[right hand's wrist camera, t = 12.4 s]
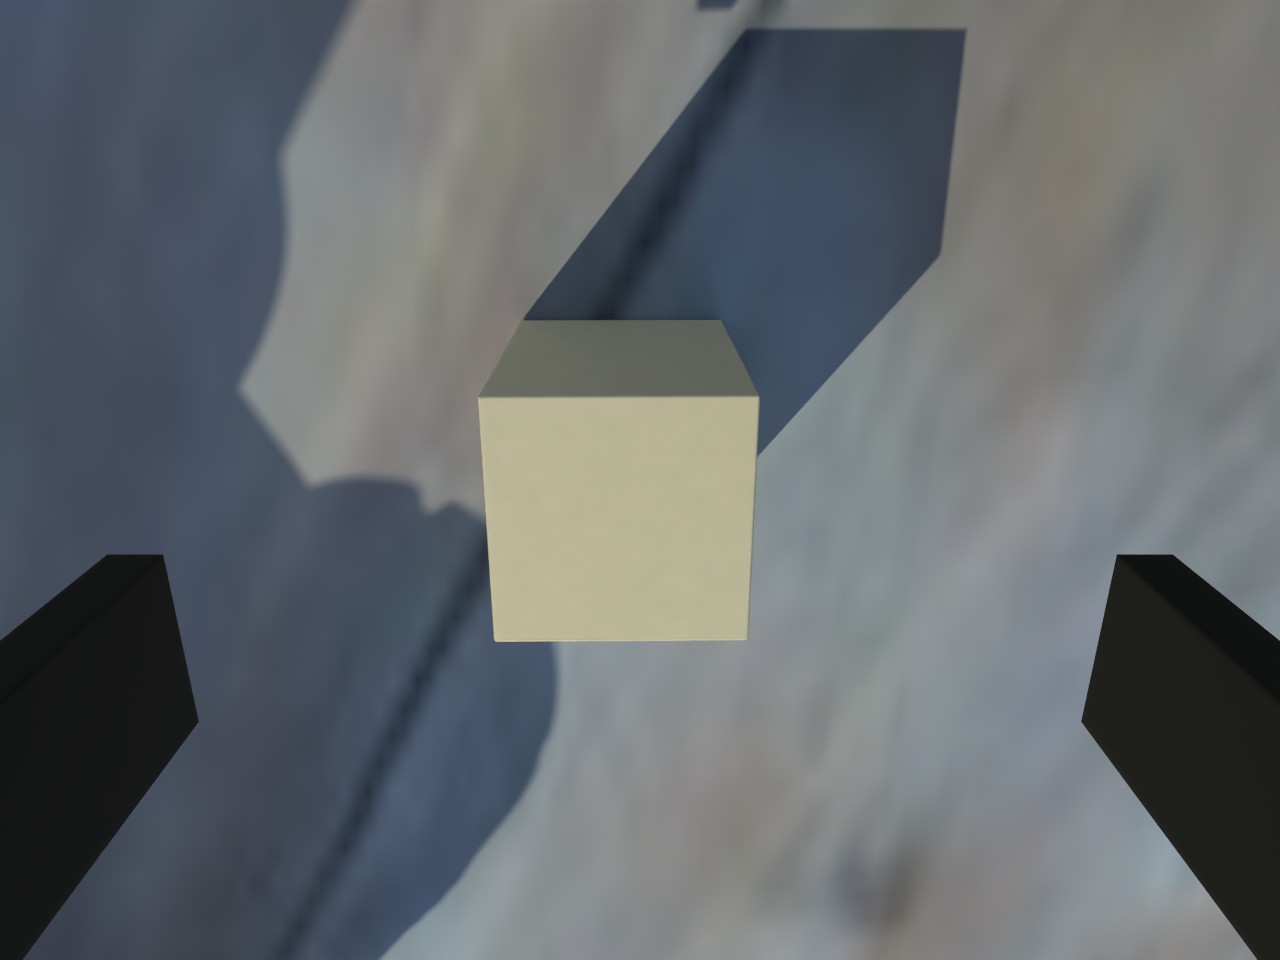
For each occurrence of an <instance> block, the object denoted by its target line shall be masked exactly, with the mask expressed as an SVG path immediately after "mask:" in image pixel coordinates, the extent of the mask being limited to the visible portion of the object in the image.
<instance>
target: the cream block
mask: <svg viewBox="0 0 1280 960" xmlns="http://www.w3.org/2000/svg"><path fill="white" fill-rule="evenodd" d="M478 405H479V420H480V435H481V450H482V465H483V480H484V495H485V510H486V525H487V540H488V555H489V570H490V586H491V601H492V616H493V631H494V640H495V641H496V642H536V641H678V640H747V639H748V633H749V613H750V592H751V572H752V551H753V531H754V511H755V490H756V470H757V450H758V429H759V409H760V396H759V394H758V392H757V390H756V388H755V386H754V384H753V382H752V380H751V378H750V376H749V374H748V372H747V370H746V368H745V366H744V364H743V362H742V360H741V358H740V356H739V354H738V352H737V350H736V348H735V346H734V344H733V342H732V340H731V338H730V336H729V334H728V332H727V330H726V328H725V327H724V325H723V323H722V321H721V320H522V321H521V322H520V324H519V326H518V328H517V330H516V331H515V333H514V335H513V337H512V338H511V340H510V342H509V344H508V346H507V347H506V349H505V351H504V353H503V354H502V356H501V358H500V360H499V361H498V363H497V365H496V367H495V369H494V370H493V372H492V374H491V376H490V377H489V379H488V381H487V383H486V384H485V386H484V388H483V390H482V392H481V393H480V395H479V397H478Z"/></svg>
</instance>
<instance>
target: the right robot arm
mask: <svg viewBox="0 0 1280 960" xmlns="http://www.w3.org/2000/svg"><path fill="white" fill-rule="evenodd" d="M198 722H199V721H198V716H197V712H196V707H195V702H194V698H193V693H192V688H191V684H190V679H189V674H188V669H187V665H186V660H185V655H184V651H183V646H182V641H181V637H180V632H179V627H178V623H177V618H176V613H175V609H174V604H173V599H172V595H171V590H170V585H169V581H168V576H167V571H166V566H165V562H164V557H163V555H106V556H105V557H104V558H103V559H101V560H100V561H99V562H98V563H96V564H95V565H94V566H93V567H91V568H90V569H89V570H88V571H86V572H85V573H84V574H83V575H81V576H80V577H79V578H78V579H76V580H75V581H74V582H73V583H71V584H70V585H69V586H68V587H67V588H65V589H64V590H63V591H62V592H60V593H59V594H58V595H57V596H55V597H54V598H53V599H52V600H50V601H49V602H48V603H47V604H45V605H44V606H43V607H42V608H40V609H39V610H38V611H37V612H35V613H34V614H33V615H32V616H30V617H29V618H28V619H27V620H26V621H24V622H23V623H22V624H21V625H19V626H18V627H17V628H16V629H14V630H13V631H12V632H11V633H9V634H8V635H7V636H6V637H4V638H3V639H2V640H1V641H0V960H23V958H24V957H25V956H26V954H27V953H28V951H29V950H30V949H31V947H32V946H33V945H34V943H35V942H36V941H37V939H38V938H39V937H40V935H41V934H42V933H43V931H44V930H45V929H46V927H47V926H48V924H49V923H50V922H51V920H52V919H53V918H54V916H55V915H56V914H57V912H58V911H59V910H60V908H61V907H62V906H63V904H64V903H65V902H66V900H67V899H68V897H69V896H70V895H71V893H72V892H73V891H74V889H75V888H76V887H77V885H78V884H79V883H80V881H81V880H82V879H83V877H84V876H85V875H86V873H87V872H88V870H89V869H90V868H91V866H92V865H93V864H94V862H95V861H96V860H97V858H98V857H99V856H100V854H101V853H102V852H103V850H104V849H105V848H106V846H107V845H108V843H109V842H110V841H111V839H112V838H113V837H114V835H115V834H116V833H117V831H118V830H119V829H120V827H121V826H122V825H123V823H124V822H125V820H126V819H127V818H128V816H129V815H130V814H131V812H132V811H133V810H134V808H135V807H136V806H137V804H138V803H139V802H140V800H141V799H142V798H143V796H144V795H145V793H146V792H147V791H148V789H149V788H150V787H151V785H152V784H153V783H154V781H155V780H156V779H157V777H158V776H159V775H160V773H161V772H162V771H163V769H164V768H165V766H166V765H167V764H168V762H169V761H170V760H171V758H172V757H173V756H174V754H175V753H176V752H177V750H178V749H179V748H180V746H181V745H182V744H183V742H184V741H185V739H186V738H187V737H188V735H189V734H190V733H191V731H192V730H193V729H194V727H195V726H196V725H197V723H198ZM1081 722H1082V723H1083V725H1084V726H1085V727H1086V729H1087V730H1088V731H1089V733H1090V734H1091V735H1092V737H1093V738H1094V739H1095V741H1096V742H1097V744H1098V745H1099V746H1100V748H1101V749H1102V750H1103V752H1104V753H1105V754H1106V756H1107V757H1108V758H1109V760H1110V761H1111V762H1112V764H1113V765H1114V766H1115V768H1116V769H1117V771H1118V772H1119V773H1120V775H1121V776H1122V777H1123V779H1124V780H1125V781H1126V783H1127V784H1128V785H1129V787H1130V788H1131V789H1132V791H1133V792H1134V793H1135V795H1136V796H1137V798H1138V799H1139V800H1140V802H1141V803H1142V804H1143V806H1144V807H1145V808H1146V810H1147V811H1148V812H1149V814H1150V815H1151V816H1152V818H1153V819H1154V820H1155V822H1156V823H1157V825H1158V826H1159V827H1160V829H1161V830H1162V831H1163V833H1164V834H1165V835H1166V837H1167V838H1168V839H1169V841H1170V842H1171V843H1172V845H1173V846H1174V847H1175V849H1176V850H1177V852H1178V853H1179V854H1180V856H1181V857H1182V858H1183V860H1184V861H1185V862H1186V864H1187V865H1188V866H1189V868H1190V869H1191V870H1192V872H1193V873H1194V875H1195V876H1196V877H1197V879H1198V880H1199V881H1200V883H1201V884H1202V885H1203V887H1204V888H1205V889H1206V891H1207V892H1208V893H1209V895H1210V896H1211V897H1212V899H1213V900H1214V902H1215V903H1216V904H1217V906H1218V907H1219V908H1220V910H1221V911H1222V912H1223V914H1224V915H1225V916H1226V918H1227V919H1228V920H1229V922H1230V923H1231V924H1232V926H1233V927H1234V929H1235V930H1236V931H1237V933H1238V934H1239V935H1240V937H1241V938H1242V939H1243V941H1244V942H1245V943H1246V945H1247V946H1248V947H1249V949H1250V950H1251V951H1252V953H1253V954H1254V956H1255V957H1256V958H1257V960H1280V641H1279V640H1278V639H1277V638H1276V637H1274V636H1273V635H1272V634H1271V633H1269V632H1268V631H1267V630H1266V629H1264V628H1263V627H1262V626H1261V625H1259V624H1258V623H1257V622H1256V621H1254V620H1253V619H1252V618H1251V617H1250V616H1248V615H1247V614H1246V613H1245V612H1243V611H1242V610H1241V609H1240V608H1238V607H1237V606H1236V605H1235V604H1233V603H1232V602H1231V601H1230V600H1228V599H1227V598H1226V597H1225V596H1223V595H1222V594H1221V593H1220V592H1218V591H1217V590H1216V589H1215V588H1213V587H1212V586H1211V585H1210V584H1209V583H1207V582H1206V581H1205V580H1204V579H1202V578H1201V577H1200V576H1199V575H1197V574H1196V573H1195V572H1194V571H1192V570H1191V569H1190V568H1189V567H1187V566H1186V565H1185V564H1184V563H1182V562H1181V561H1180V560H1179V559H1177V558H1176V557H1175V556H1174V555H1117V557H1116V562H1115V566H1114V571H1113V576H1112V581H1111V585H1110V590H1109V595H1108V599H1107V604H1106V609H1105V613H1104V618H1103V623H1102V627H1101V632H1100V637H1099V641H1098V646H1097V651H1096V655H1095V660H1094V665H1093V669H1092V674H1091V679H1090V684H1089V688H1088V693H1087V698H1086V702H1085V707H1084V712H1083V716H1082V721H1081Z"/></svg>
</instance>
